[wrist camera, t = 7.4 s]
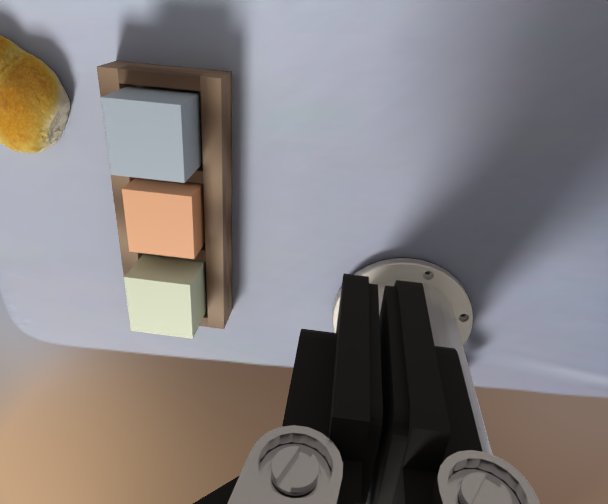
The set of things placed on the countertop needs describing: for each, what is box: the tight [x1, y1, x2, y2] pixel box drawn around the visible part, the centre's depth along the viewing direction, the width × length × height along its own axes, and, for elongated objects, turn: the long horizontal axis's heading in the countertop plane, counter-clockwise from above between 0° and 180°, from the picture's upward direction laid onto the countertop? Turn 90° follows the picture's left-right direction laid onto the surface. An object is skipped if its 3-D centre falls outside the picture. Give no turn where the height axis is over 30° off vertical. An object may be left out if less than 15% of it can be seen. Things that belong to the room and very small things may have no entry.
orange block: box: [122, 178, 205, 259], centre depth 39 cm, size 5×5×4 cm
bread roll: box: [0, 35, 70, 153], centre depth 38 cm, size 8×9×4 cm
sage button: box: [124, 254, 206, 339], centre depth 42 cm, size 5×5×4 cm
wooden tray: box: [97, 61, 232, 329], centre depth 41 cm, size 22×9×3 cm, turn 176°
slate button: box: [101, 87, 201, 183], centre depth 35 cm, size 5×5×4 cm
